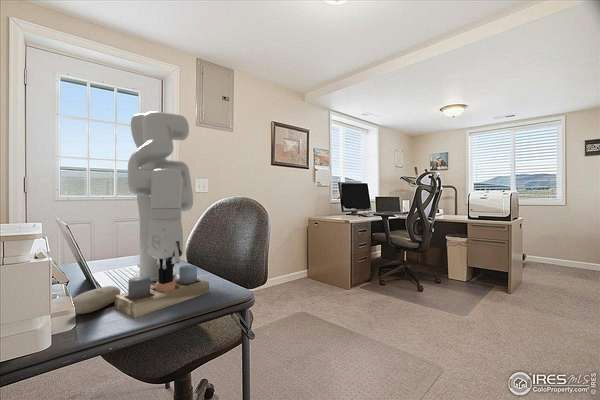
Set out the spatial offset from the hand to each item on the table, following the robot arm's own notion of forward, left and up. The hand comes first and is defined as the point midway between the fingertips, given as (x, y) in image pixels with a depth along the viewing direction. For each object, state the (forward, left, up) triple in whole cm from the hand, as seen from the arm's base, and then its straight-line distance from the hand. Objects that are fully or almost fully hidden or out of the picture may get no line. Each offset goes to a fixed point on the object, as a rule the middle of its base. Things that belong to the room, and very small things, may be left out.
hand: (165, 282), depth 77 cm
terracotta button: (0, 0, -4) cm, 4 cm away
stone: (-8, -13, -5) cm, 16 cm away
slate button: (0, +7, -1) cm, 7 cm away
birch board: (0, 0, -5) cm, 5 cm away
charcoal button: (0, -7, -1) cm, 7 cm away
